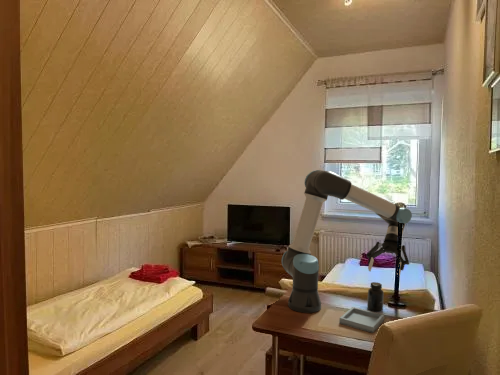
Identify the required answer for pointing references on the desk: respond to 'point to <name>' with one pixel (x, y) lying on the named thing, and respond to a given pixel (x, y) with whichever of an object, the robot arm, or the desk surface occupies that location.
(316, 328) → the desk surface
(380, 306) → the supplement bottle
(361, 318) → the tray
